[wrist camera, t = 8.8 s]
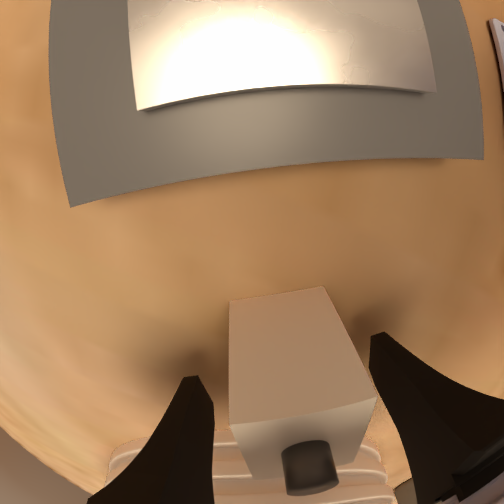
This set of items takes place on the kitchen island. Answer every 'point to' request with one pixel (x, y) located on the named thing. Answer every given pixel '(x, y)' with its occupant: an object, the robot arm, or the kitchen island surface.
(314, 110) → the socket
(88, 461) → the kitchen island surface
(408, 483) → the grey stone figurine
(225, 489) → the plate stack
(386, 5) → the block
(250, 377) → the plug
